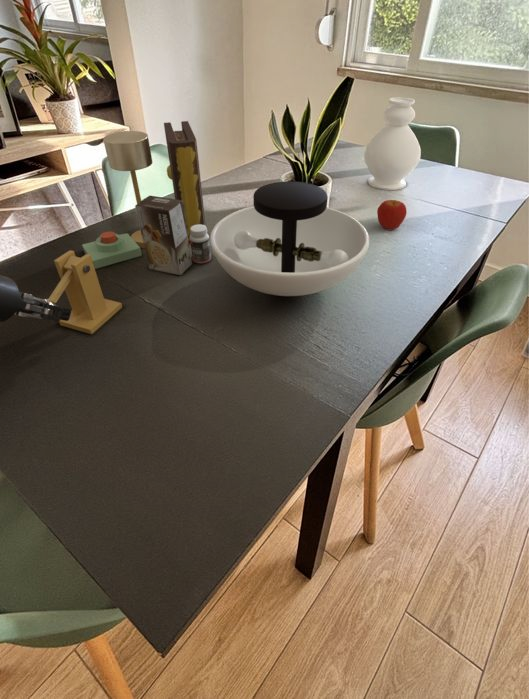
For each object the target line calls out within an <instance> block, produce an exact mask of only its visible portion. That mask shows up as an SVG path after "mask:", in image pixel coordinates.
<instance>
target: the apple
mask: <svg viewBox="0 0 529 699" xmlns="http://www.w3.org/2000/svg"><path fill="white" fill-rule="evenodd" d="M376 213H377V214H376V216H377V221H378V224H379V226H380V227H381V228H382V229H384V230H388V231H393V230H396V229H398V228H400V226H401V225H402V224H403V222H404V221H405V219H406V217H407V206H406V205H405V203H404V202H402V201H400V200H395V199H387V200H384V201H382V202H381V203H380V204H379V206H378V207H377V211H376Z"/></svg>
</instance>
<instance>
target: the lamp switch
mask: <svg viewBox="0 0 529 699" xmlns="http://www.w3.org/2000/svg"><path fill="white" fill-rule="evenodd" d="M75 256H76V255H75ZM75 256H70V258H69V259H68V261H67V262H66V264H65V265H64V268H65V269H66V270H67V272H66V273H65V275H64V276H63V278H62V279H60V281H59V282H58V283H57V285H56V287H55V288H54V289H53V291H52V293H50V294H51V295H50V296H49V298H42V299H43V300H47V301H48V303H49V304H52V305H53V304H55V305H56V306H58V304H57V302H58V300H59V299H60V298H61V296H62V295H63V293H64V292H65V288H66V287H67V285H68V284H69V282H70V281H71V279H72V278H73V276H74V273H73V270H72V267H71V264H72V263H74V262H75V261H77V260H78V259H80V258H81V257H79V256H76V257H75ZM38 303H39V302H38Z"/></svg>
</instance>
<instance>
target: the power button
mask: <svg viewBox="0 0 529 699" xmlns="http://www.w3.org/2000/svg"><path fill="white" fill-rule="evenodd" d="M115 234H116V232H114V231H104V232H102V233H101V234H100V235H99V237H101V240H102V243H104V244H110V243H114V242H115V241H117V239H116V235H115Z"/></svg>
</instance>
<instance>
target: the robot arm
mask: <svg viewBox="0 0 529 699" xmlns="http://www.w3.org/2000/svg"><path fill="white" fill-rule="evenodd" d="M43 299H44V298H40V297H35V296H33V295H32V294H29V293H26V292H22V291H20V289H19V287H18V284H17V283H16V282H15V281H14V280H13V279H12V278H10V277H8V276H5V275H1V274H0V323H4V322H6V321H8V320H9V319H11V318H12V317H13V316H14V315H15V316H17V317H22V318H28V317H29V318H34V319H38V320H52V321H54V322H59V321H60V320H65V321H68V320H69V318H70V315H71V311H72V309H69V308H65V307H63V306H62V305H57V306H56V305H55V304H53V305H52V304H49V303H48V301H47V300H43ZM38 302H39V303H38Z"/></svg>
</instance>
